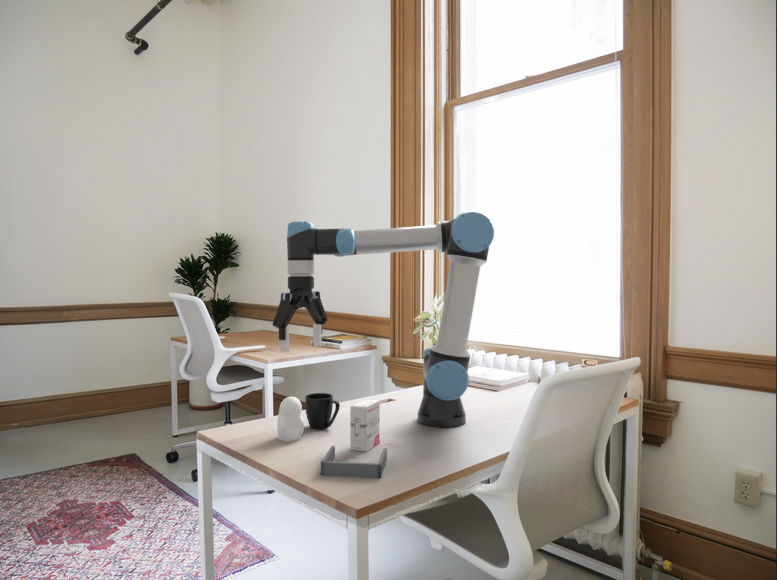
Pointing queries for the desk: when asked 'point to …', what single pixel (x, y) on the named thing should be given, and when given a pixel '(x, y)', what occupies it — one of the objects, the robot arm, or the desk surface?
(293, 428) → the figurine
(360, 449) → the ink box
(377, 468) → the grey u-shaped frame
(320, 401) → the mug
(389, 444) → the desk surface
